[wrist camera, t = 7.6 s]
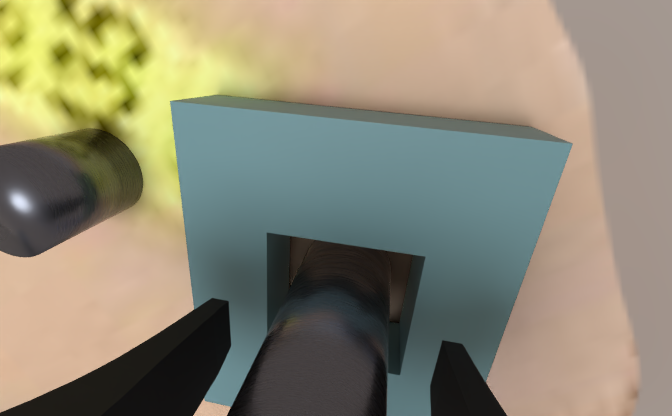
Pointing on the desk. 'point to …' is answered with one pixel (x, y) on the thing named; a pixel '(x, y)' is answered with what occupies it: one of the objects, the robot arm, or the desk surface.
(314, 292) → the tall pin
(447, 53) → the desk surface
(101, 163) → the short pin
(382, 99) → the desk surface
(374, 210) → the hole block
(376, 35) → the desk surface
